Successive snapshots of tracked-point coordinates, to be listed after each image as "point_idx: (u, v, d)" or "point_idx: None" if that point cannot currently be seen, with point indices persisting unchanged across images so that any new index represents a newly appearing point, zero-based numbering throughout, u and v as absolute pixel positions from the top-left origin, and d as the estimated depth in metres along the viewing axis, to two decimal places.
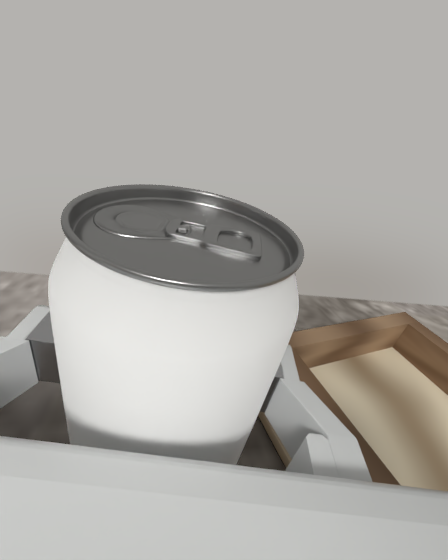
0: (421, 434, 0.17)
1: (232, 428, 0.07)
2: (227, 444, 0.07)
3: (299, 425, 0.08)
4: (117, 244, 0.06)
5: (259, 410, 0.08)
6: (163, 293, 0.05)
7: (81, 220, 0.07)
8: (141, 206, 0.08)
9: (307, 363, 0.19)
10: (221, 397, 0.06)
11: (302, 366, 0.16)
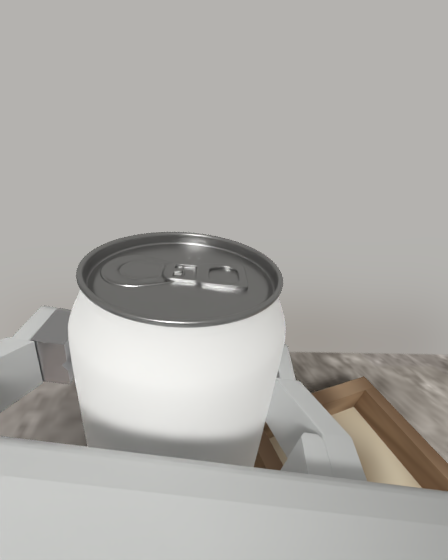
0: None
1: (245, 438, 0.08)
2: (242, 455, 0.08)
3: (295, 424, 0.08)
4: (128, 294, 0.07)
5: None
6: (175, 332, 0.06)
7: (90, 277, 0.08)
8: (137, 255, 0.09)
9: None
10: (232, 412, 0.07)
11: (268, 445, 0.20)
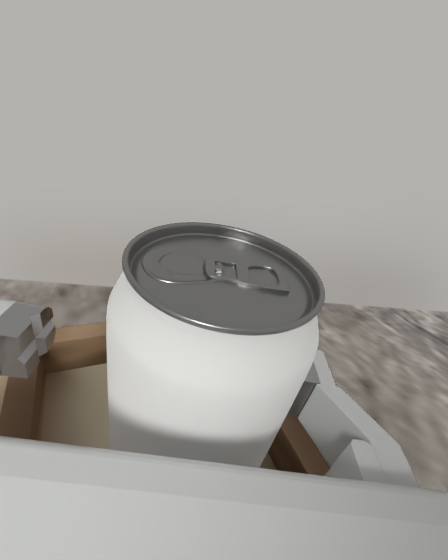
0: None
1: (272, 433, 0.08)
2: (265, 447, 0.09)
3: (338, 430, 0.08)
4: (175, 293, 0.07)
5: None
6: (231, 338, 0.06)
7: (132, 270, 0.08)
8: (174, 247, 0.09)
9: (81, 361, 0.18)
10: (270, 412, 0.07)
11: None
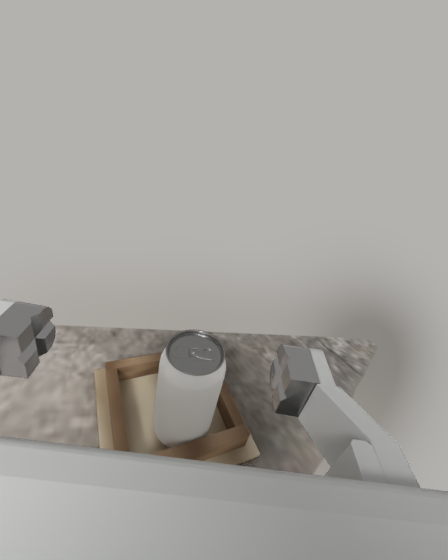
0: None
1: (210, 402, 0.27)
2: (209, 407, 0.27)
3: (338, 430, 0.08)
4: (180, 362, 0.26)
5: (217, 397, 0.28)
6: (194, 376, 0.25)
7: (168, 354, 0.26)
8: (179, 342, 0.28)
9: (133, 375, 0.36)
10: (207, 395, 0.26)
11: (115, 377, 0.33)
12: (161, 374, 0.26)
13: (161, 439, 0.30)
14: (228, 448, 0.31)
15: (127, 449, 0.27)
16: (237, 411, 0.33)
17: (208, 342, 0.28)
